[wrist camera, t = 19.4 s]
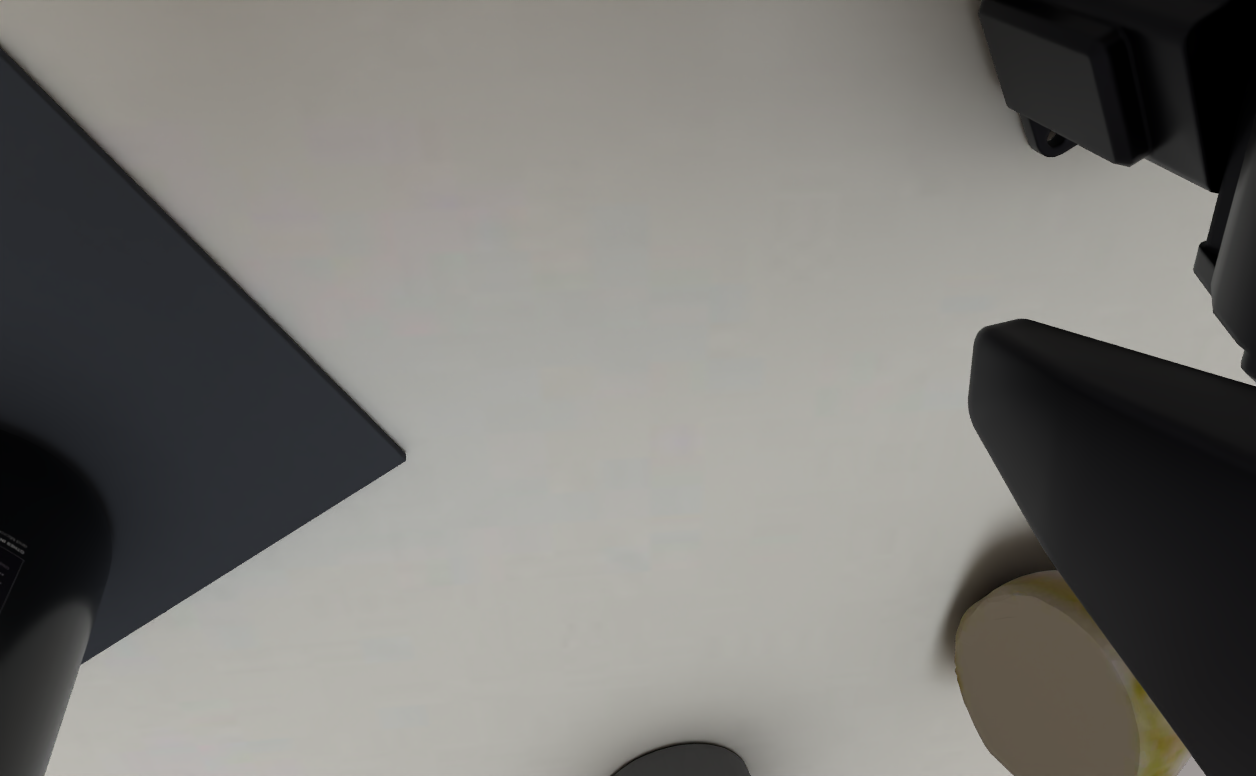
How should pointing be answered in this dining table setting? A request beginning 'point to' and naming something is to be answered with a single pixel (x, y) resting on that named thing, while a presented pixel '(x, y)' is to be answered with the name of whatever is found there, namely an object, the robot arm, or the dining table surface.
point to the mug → (1056, 688)
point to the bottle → (687, 762)
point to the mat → (154, 374)
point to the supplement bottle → (44, 596)
